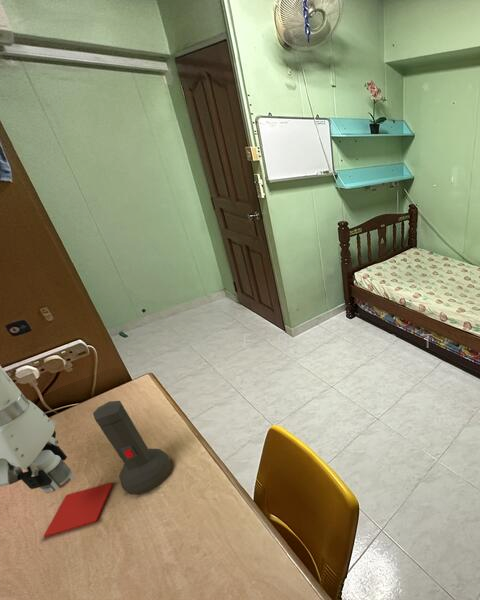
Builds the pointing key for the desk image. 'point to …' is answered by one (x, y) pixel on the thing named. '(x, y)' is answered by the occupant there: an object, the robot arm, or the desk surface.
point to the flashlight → (132, 450)
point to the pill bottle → (53, 471)
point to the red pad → (79, 509)
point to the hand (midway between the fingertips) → (49, 472)
